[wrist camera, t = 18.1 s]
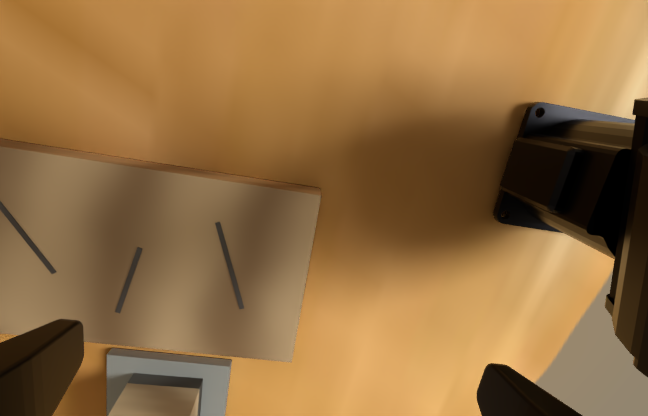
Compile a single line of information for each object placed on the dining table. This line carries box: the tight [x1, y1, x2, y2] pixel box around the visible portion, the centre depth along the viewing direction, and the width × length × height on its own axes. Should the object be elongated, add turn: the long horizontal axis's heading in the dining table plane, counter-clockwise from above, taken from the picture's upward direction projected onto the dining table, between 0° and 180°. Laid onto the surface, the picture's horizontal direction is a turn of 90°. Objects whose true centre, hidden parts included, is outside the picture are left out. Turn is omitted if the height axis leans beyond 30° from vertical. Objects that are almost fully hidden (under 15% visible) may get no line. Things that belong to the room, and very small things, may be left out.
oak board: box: [0, 139, 321, 362], centre depth 19 cm, size 18×10×2 cm, turn 80°
